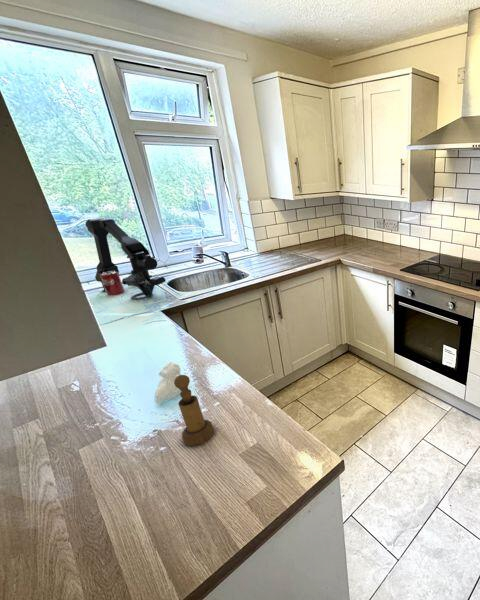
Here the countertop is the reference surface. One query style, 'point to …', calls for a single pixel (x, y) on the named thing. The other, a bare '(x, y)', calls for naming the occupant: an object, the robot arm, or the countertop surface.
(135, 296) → the hoop
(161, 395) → the bust
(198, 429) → the mortar and pestle
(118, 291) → the soda can
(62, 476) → the countertop surface
